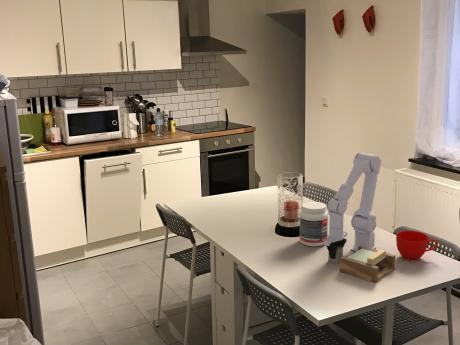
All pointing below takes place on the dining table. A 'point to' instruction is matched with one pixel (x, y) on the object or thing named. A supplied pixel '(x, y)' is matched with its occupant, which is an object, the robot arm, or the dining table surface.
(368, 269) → the frame
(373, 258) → the trapdoor
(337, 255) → the granite block
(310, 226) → the supplement tub
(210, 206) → the dining table surface
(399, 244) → the ceramic cup
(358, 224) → the robot arm
